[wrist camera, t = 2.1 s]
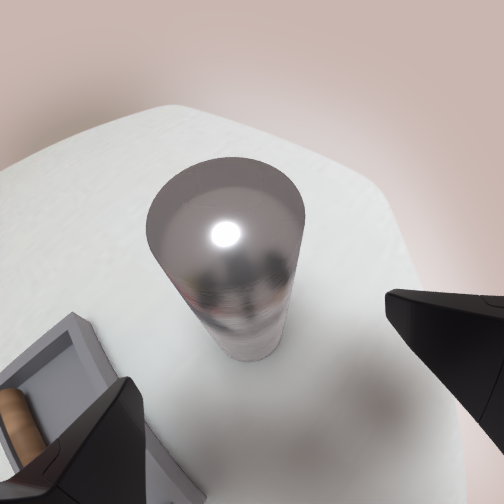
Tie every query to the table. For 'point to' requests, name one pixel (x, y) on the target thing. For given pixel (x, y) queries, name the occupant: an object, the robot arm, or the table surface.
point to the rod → (20, 425)
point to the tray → (82, 401)
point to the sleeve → (231, 249)
